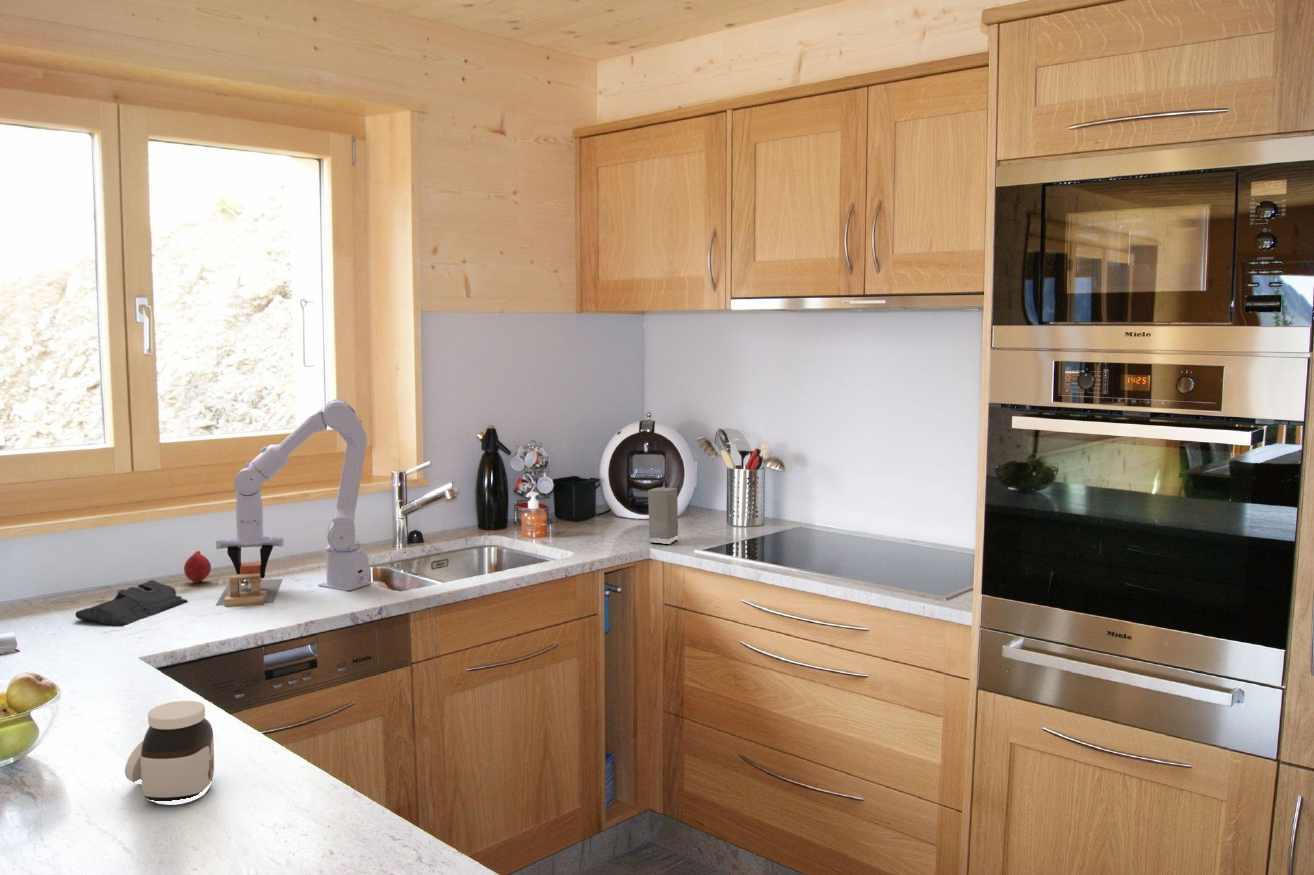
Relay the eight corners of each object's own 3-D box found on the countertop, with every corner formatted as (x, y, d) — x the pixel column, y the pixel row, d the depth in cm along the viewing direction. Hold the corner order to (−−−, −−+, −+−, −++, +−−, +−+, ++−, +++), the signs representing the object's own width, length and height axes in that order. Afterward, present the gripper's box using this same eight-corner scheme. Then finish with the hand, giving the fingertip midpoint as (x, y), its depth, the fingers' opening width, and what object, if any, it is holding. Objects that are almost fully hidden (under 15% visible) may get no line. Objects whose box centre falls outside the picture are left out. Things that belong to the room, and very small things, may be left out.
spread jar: (195, 811, 134) (192, 723, 133) (104, 813, 133) (100, 725, 132) (226, 771, 146) (224, 690, 145) (143, 773, 145) (140, 692, 144)
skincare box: (669, 546, 297) (670, 491, 296) (646, 543, 300) (646, 489, 298) (679, 540, 305) (680, 487, 304) (656, 538, 308) (657, 485, 306)
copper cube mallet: (253, 596, 229) (253, 578, 229) (232, 597, 228) (232, 579, 228) (262, 578, 245) (261, 562, 244) (242, 579, 244) (241, 562, 243)
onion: (201, 587, 245) (199, 553, 244) (179, 585, 246) (178, 552, 245) (216, 581, 251) (215, 548, 250) (194, 579, 252) (193, 547, 251)
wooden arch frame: (263, 604, 230) (262, 577, 230) (224, 606, 228) (223, 579, 228) (266, 597, 236) (265, 571, 235) (228, 599, 234) (227, 573, 233)
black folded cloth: (61, 624, 216) (60, 601, 215) (136, 597, 237) (135, 577, 237) (125, 630, 212) (124, 607, 212) (195, 602, 234) (195, 581, 233)
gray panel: (273, 603, 232) (273, 602, 232) (215, 606, 229) (215, 605, 229) (282, 579, 253) (282, 578, 253) (229, 582, 250) (229, 581, 250)
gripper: (213, 524, 235) (215, 583, 237) (281, 522, 239) (282, 580, 240) (218, 518, 242) (219, 576, 244) (283, 516, 246) (285, 573, 247)
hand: (251, 577), depth 242 cm, fingers closed on copper cube mallet, 4 cm apart
